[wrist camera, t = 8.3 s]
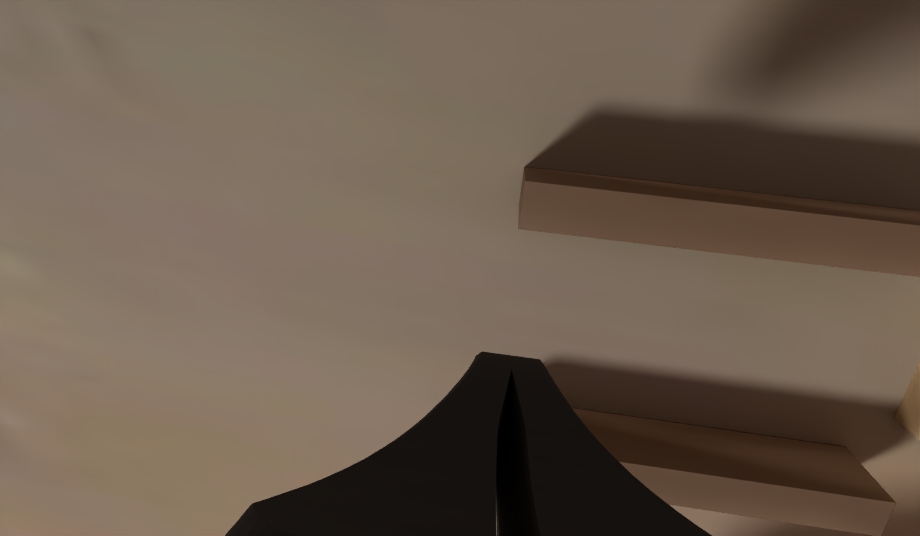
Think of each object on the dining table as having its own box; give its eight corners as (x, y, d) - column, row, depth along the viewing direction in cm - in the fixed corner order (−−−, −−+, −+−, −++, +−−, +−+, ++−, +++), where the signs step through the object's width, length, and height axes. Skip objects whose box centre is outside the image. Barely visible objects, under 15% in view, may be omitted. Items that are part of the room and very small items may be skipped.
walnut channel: (833, 477, 21) (880, 536, 19) (489, 427, 22) (485, 475, 20) (940, 212, 18) (1019, 236, 15) (524, 166, 19) (524, 181, 16)
